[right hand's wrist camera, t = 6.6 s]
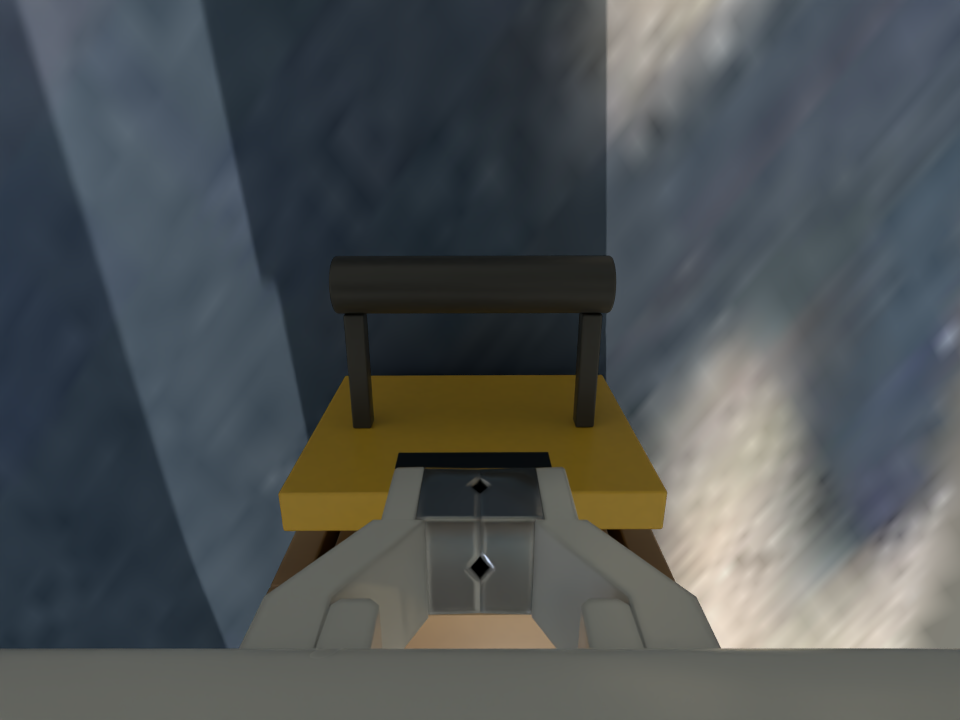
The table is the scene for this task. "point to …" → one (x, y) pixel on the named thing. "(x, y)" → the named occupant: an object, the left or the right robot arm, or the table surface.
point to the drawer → (471, 397)
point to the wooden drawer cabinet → (466, 627)
